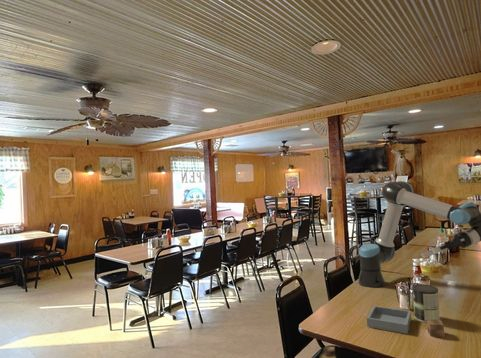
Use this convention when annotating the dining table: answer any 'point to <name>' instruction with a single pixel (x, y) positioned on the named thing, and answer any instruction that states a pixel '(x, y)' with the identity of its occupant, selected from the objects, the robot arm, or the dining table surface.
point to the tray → (389, 319)
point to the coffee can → (425, 302)
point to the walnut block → (435, 328)
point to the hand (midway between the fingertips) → (427, 253)
